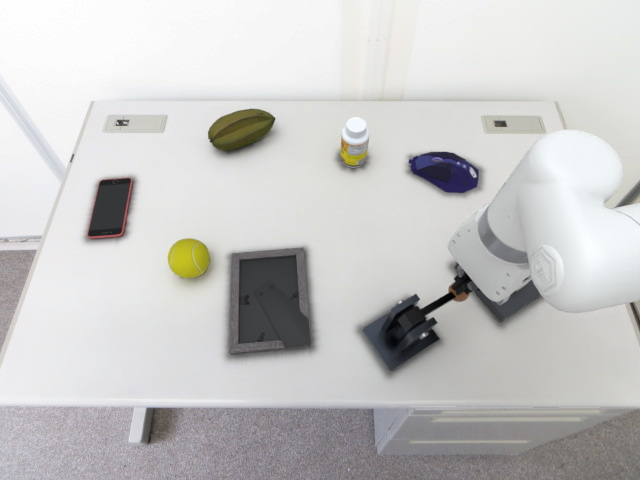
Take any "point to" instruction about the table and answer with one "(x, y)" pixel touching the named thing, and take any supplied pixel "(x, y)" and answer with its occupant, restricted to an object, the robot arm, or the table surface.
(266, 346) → the picture frame
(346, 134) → the supplement bottle
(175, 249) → the tennis ball
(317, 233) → the table surface
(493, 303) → the grey base plate
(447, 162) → the computer mouse
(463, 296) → the switch lever
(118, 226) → the smartphone
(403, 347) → the switch bracket
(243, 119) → the fruit
